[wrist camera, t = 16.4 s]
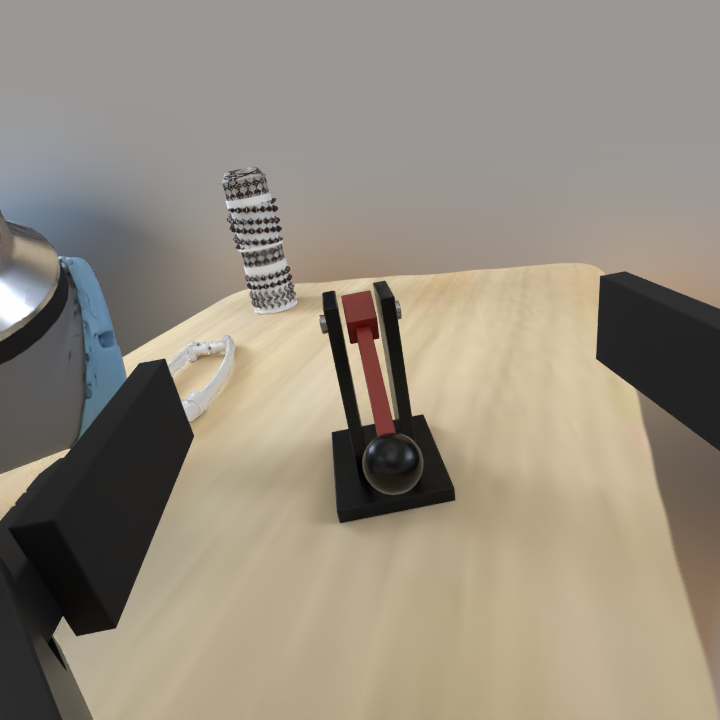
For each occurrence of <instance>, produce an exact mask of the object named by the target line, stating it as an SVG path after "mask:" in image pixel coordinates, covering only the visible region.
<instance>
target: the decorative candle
mask: <svg viewBox="0 0 720 720" xmlns="http://www.w3.org/2000/svg"><path fill="white" fill-rule="evenodd" d="M221 183H222V185H223V187H224V192H225V195H226V199H227V201H226V204H227V207H228V211H229V212H231V214H230V215H229V216H228V218H227V221H229V223H231V226H230V230H231V231H232V232H236V235H235V237H234V238H233V240H234V241H235V242H236V243H238V244H237V246H236V249H237V250H238V251H239V252H241V254H242V258H243V261H244V264H245V266H244V269H245V273H246V274H247V275H246V276H245V279H246V280H247V281H249V283H248V284H247V286H248V288H249V289H251V292H250V297H251V298H252V299H253V300H252V305H253V306H254V307H255V308H254V311H255V312H256V313H258V314H271V313H277V312H280V311H284V310H287V309H289V308H291V307H293V306H294V305H296V304H297V299H296V298H295V295H296V292H294V290H293V289H294V284H292V282H290V280H291V278H292V276H291V275H290V274H288V272H289V270H290V267H288V266H287V261H286V258H285V257H284V253H283V248H282V244H281V243H283V238H281V237H279V235H278V232H280V231H281V229H282V228H281V227H280V226H276V223H278V222H279V221H280V219H279V218H277V217H275V218H274V214H273V212H276V210H278V207H277V206H273V205H271V204H272V203H274V202H275V201H276V198H271V194H270V192H269V190H268V185H267V181H266V177H265V174H263V173H262V172H261V171H260V170H259V169H258V168H257V167H251V168H245V169H240V170H235V171H229V172H226V173H225V174H224V178H223V181H222V182H221Z"/></svg>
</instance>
